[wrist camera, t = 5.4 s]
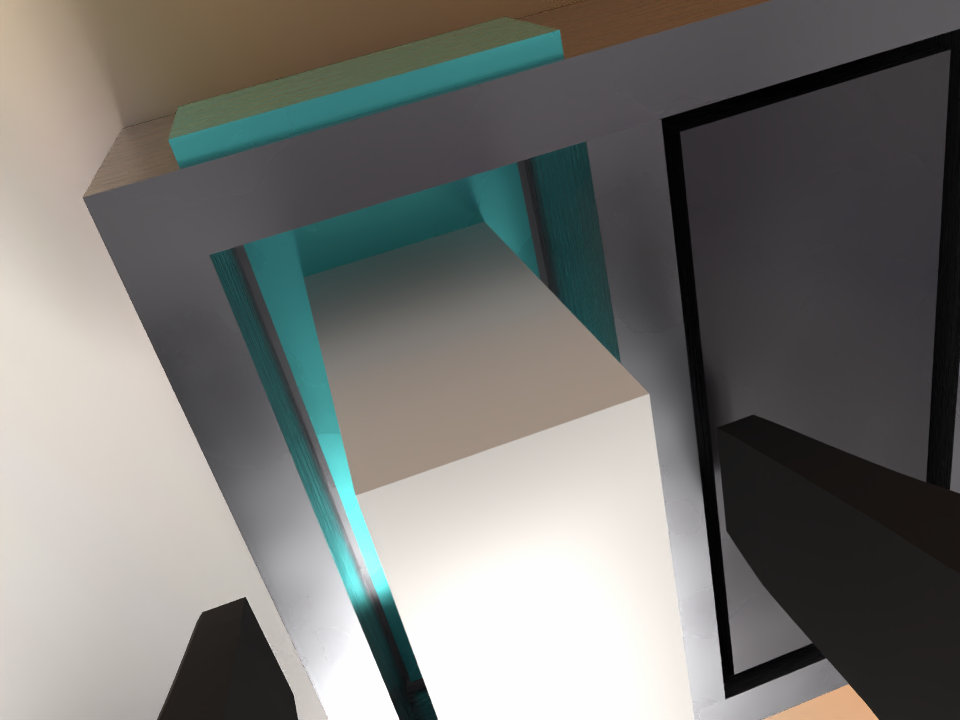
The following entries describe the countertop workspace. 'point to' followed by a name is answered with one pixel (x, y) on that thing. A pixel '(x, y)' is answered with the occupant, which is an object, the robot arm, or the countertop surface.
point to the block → (504, 485)
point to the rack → (572, 276)
